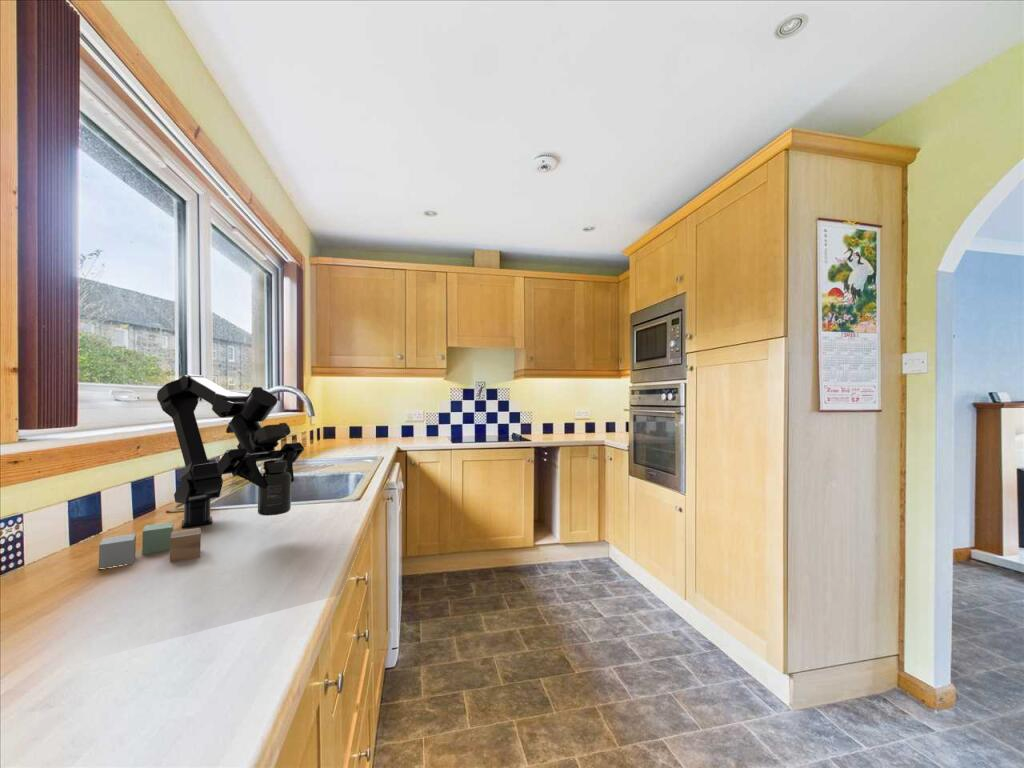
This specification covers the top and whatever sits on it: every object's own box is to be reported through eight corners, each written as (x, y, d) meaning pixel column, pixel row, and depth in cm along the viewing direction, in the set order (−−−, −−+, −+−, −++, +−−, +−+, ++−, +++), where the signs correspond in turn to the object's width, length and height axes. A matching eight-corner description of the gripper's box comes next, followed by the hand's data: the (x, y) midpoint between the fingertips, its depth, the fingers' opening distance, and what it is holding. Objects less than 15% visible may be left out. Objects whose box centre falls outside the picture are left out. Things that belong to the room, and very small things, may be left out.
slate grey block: (102, 562, 88) (103, 538, 88) (135, 557, 91) (135, 533, 91) (98, 570, 84) (99, 544, 84) (132, 564, 87) (133, 539, 87)
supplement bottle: (296, 509, 104) (298, 459, 104) (278, 516, 97) (280, 463, 97) (270, 508, 105) (271, 458, 105) (250, 515, 98) (252, 462, 98)
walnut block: (170, 555, 92) (171, 531, 92) (200, 550, 95) (200, 527, 95) (169, 563, 88) (170, 538, 88) (200, 557, 91) (200, 533, 91)
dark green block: (144, 548, 96) (145, 525, 96) (173, 543, 99) (173, 521, 99) (142, 554, 92) (142, 531, 92) (171, 550, 95) (172, 527, 95)
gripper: (226, 413, 95) (256, 468, 90) (300, 410, 112) (329, 456, 107) (203, 446, 98) (232, 501, 93) (279, 439, 115) (306, 485, 110)
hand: (279, 484), depth 100 cm, fingers closed on supplement bottle, 7 cm apart
